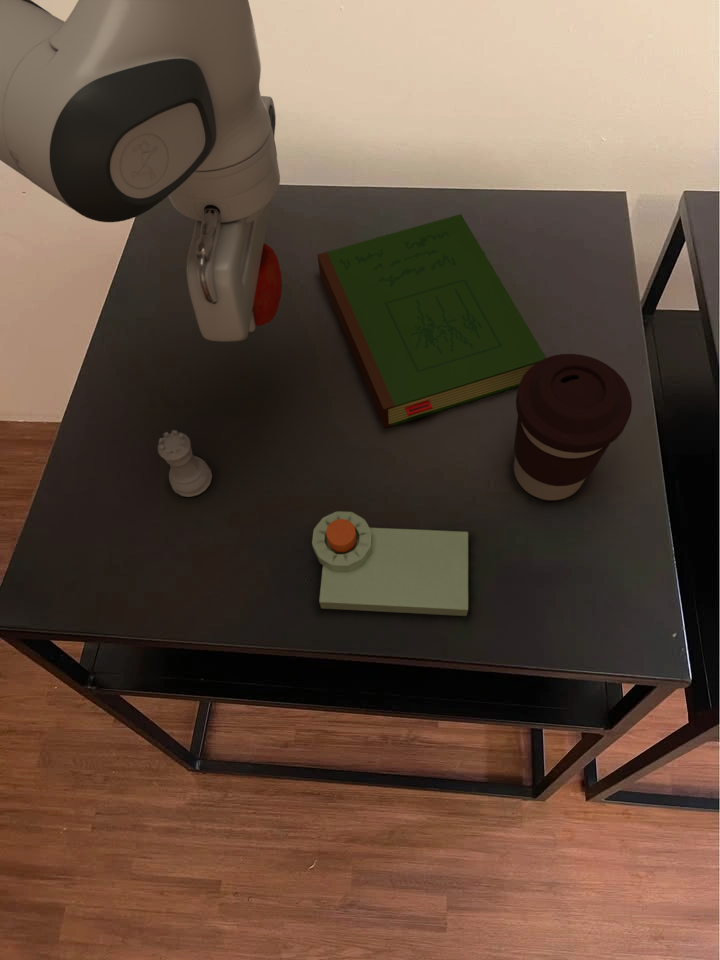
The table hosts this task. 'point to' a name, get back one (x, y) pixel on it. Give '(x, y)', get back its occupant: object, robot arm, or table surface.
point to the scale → (394, 569)
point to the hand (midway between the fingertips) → (252, 295)
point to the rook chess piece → (184, 465)
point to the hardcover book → (427, 319)
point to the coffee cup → (566, 422)
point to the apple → (267, 287)
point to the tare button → (341, 535)
